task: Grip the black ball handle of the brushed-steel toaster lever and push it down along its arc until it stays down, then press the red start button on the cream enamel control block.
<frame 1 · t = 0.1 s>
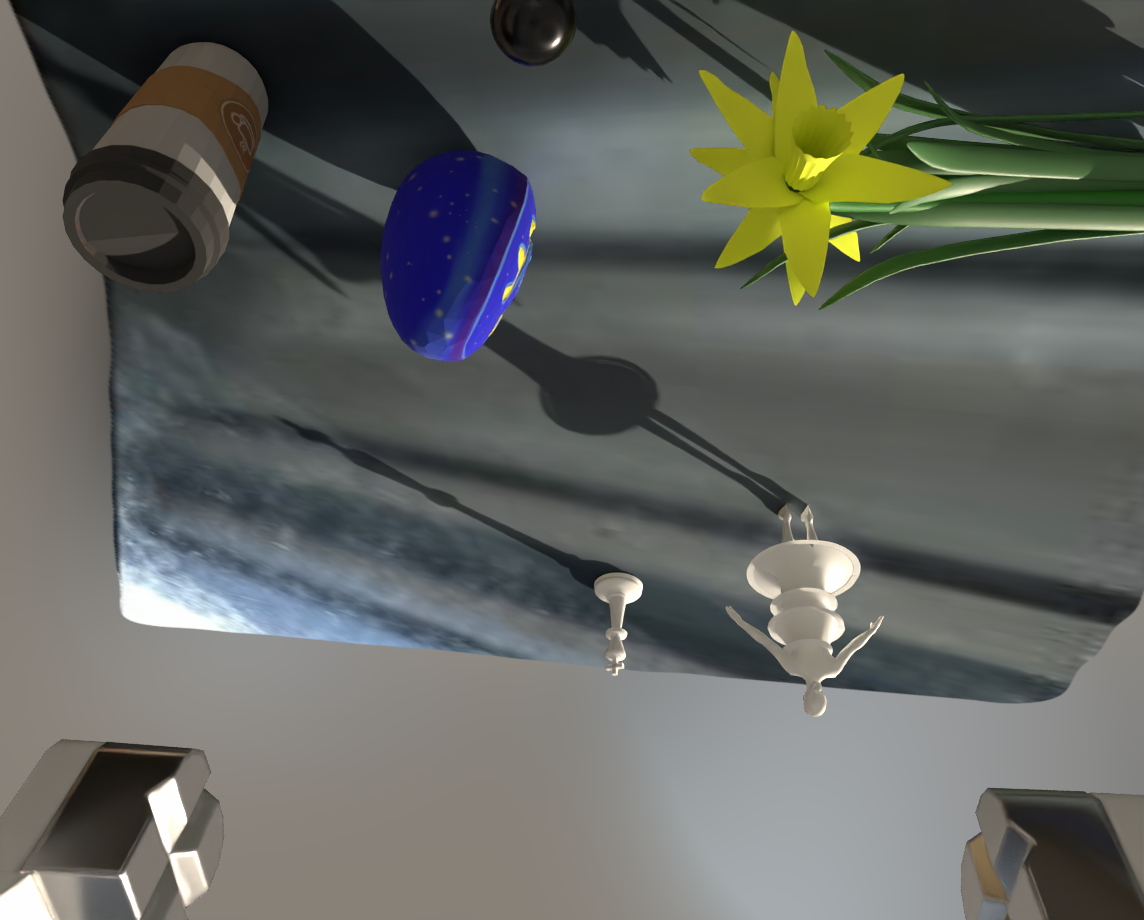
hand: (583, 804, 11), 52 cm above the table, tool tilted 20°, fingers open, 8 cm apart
chess piece: (618, 583, 103), on the table
ornament: (470, 186, 67), on the table
coffee cup: (219, 85, 62), on the table
daffodil flowers: (957, 103, 60), on the table
figurine: (793, 513, 92), on the table
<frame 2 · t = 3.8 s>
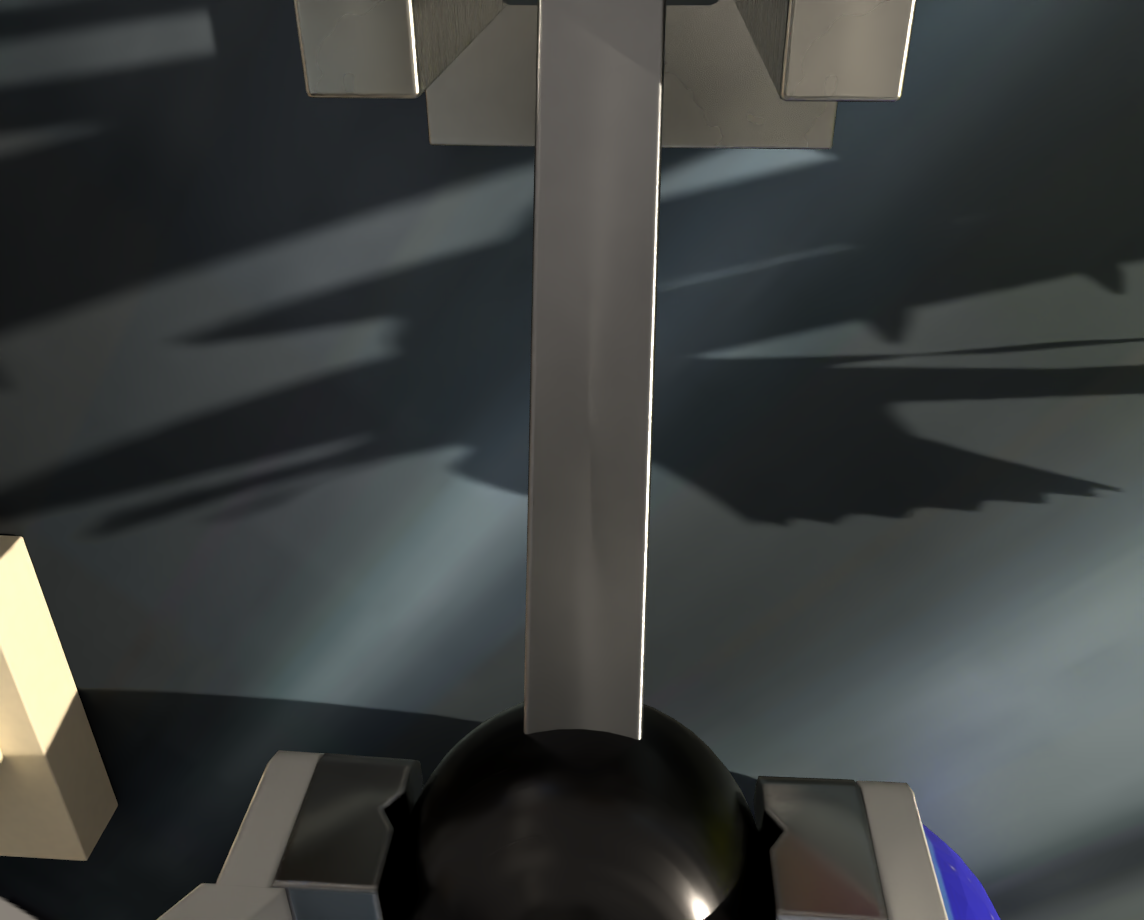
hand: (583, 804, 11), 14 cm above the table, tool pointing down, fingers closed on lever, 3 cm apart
lever: (594, 390, 9), point 13 cm above the table, hinge at 25.0°, touching gripper
ornament: (833, 850, 32), on the table
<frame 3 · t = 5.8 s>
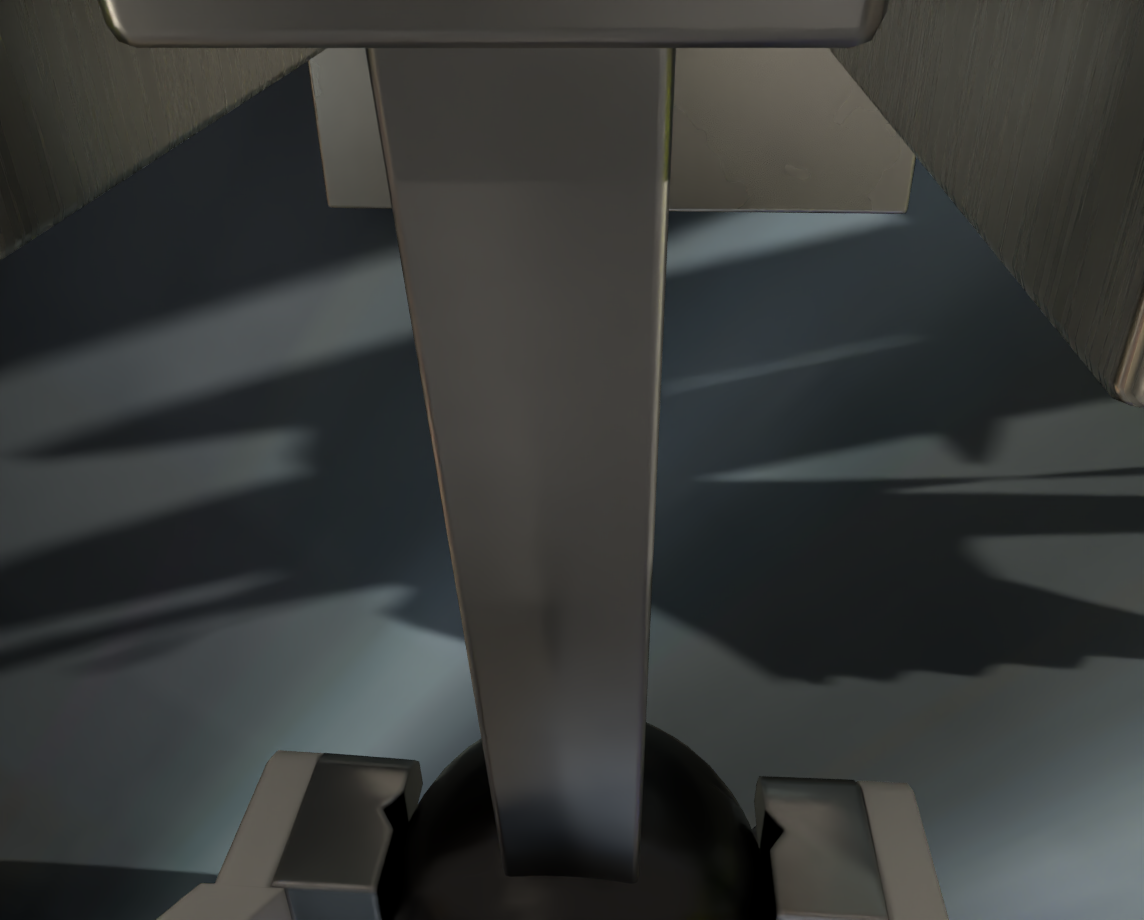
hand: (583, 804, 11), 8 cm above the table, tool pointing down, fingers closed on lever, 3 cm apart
lever: (561, 585, 6), point 10 cm above the table, hinge at -12.5°, touching gripper
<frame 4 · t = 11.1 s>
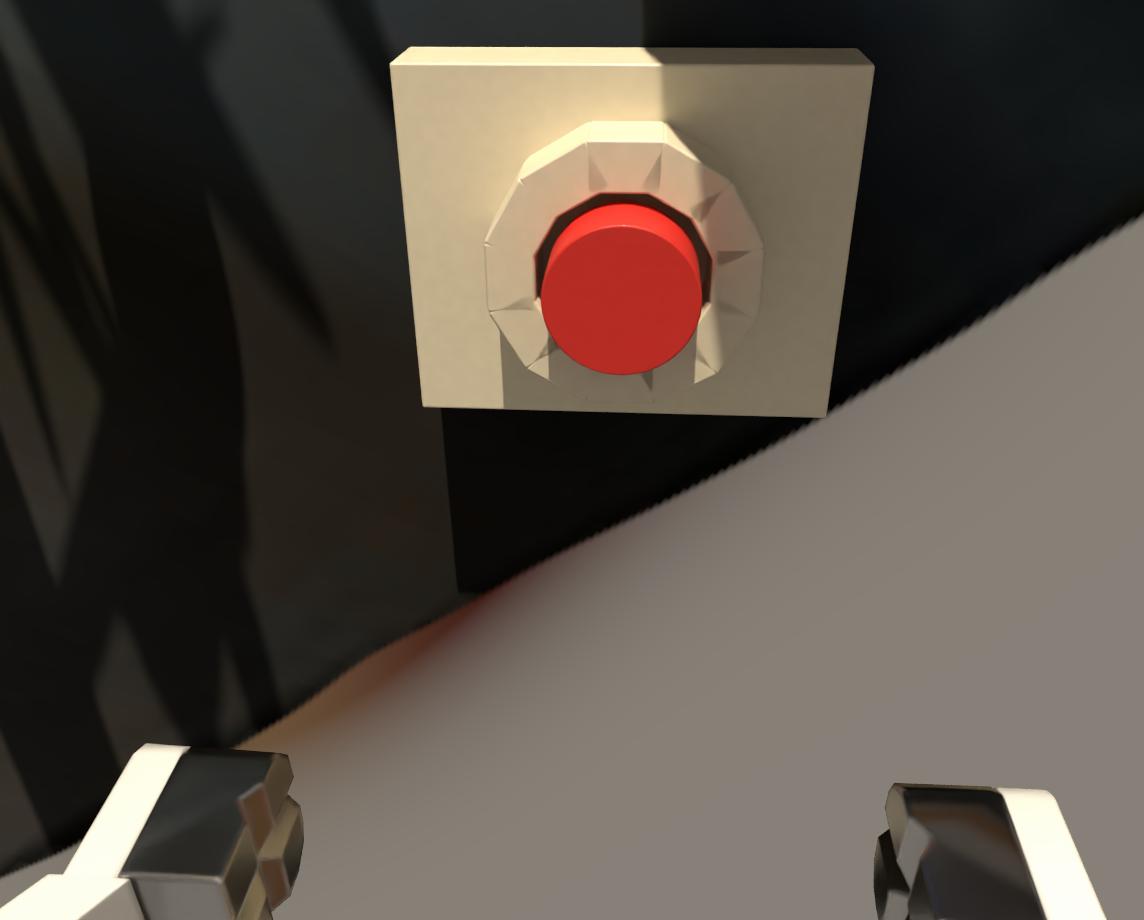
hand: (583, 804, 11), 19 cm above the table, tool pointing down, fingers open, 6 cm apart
button: (622, 289, 23), point 4 cm above the table, slide at 0.1 cm
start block: (626, 226, 27), on the table
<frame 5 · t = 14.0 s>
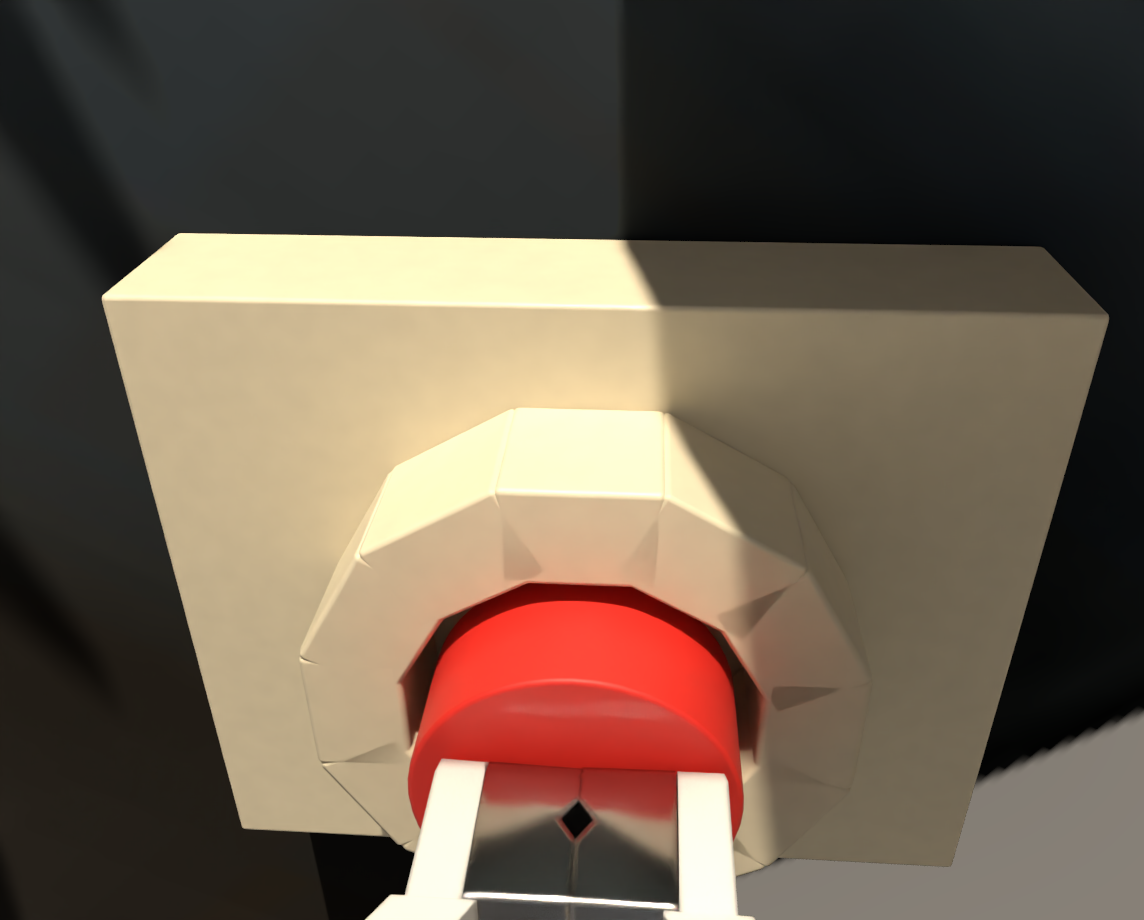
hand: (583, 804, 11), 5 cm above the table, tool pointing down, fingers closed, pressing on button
button: (578, 744, 12), point 4 cm above the table, slide at -0.1 cm, touching gripper
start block: (597, 528, 15), on the table
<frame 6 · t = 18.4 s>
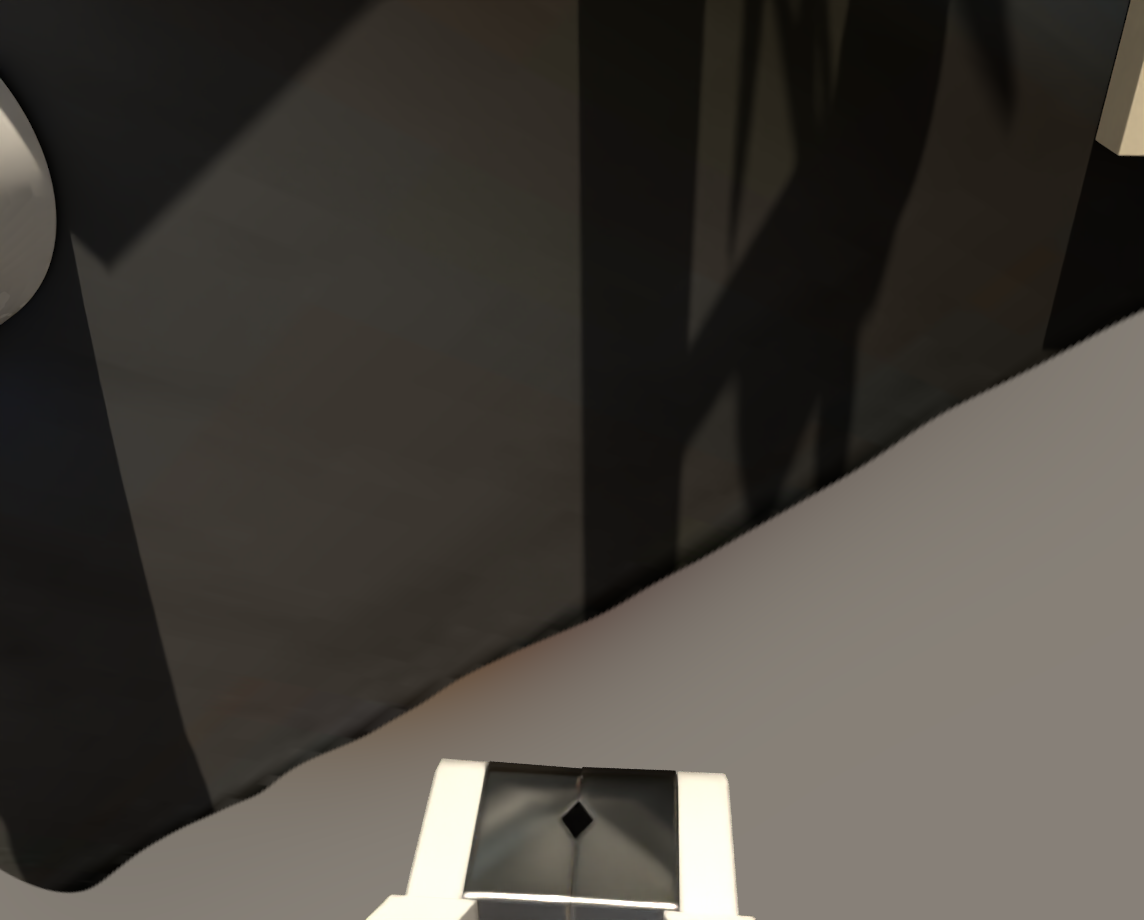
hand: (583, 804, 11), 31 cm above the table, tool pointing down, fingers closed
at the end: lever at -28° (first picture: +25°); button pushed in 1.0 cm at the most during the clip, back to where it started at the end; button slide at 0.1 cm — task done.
